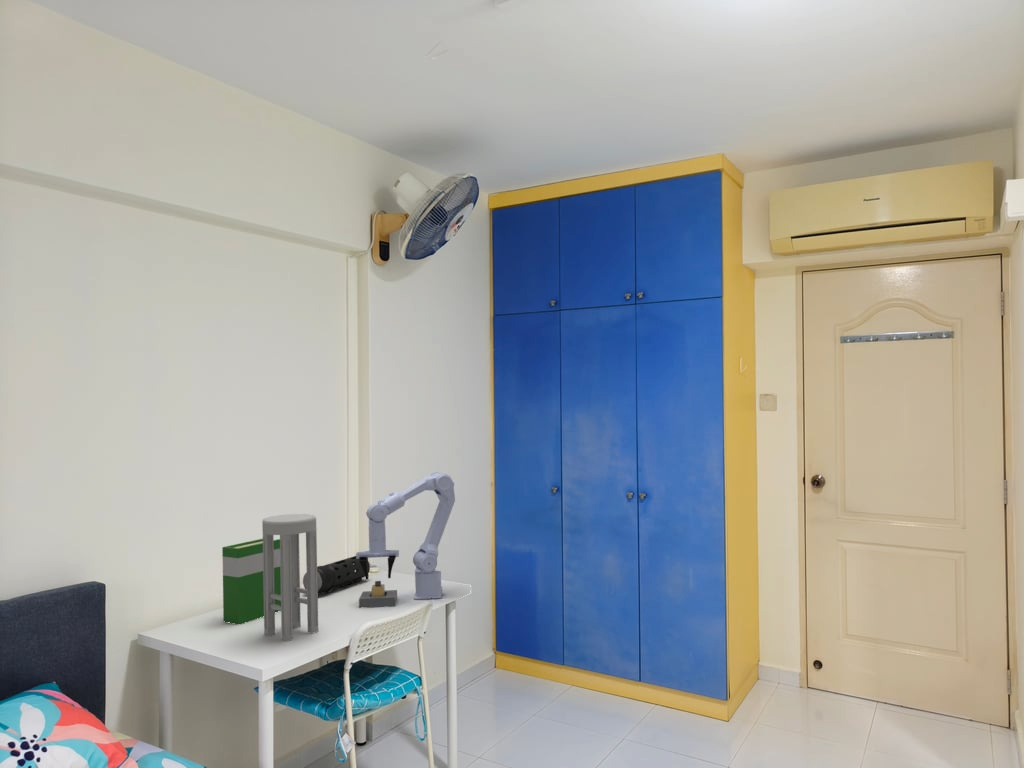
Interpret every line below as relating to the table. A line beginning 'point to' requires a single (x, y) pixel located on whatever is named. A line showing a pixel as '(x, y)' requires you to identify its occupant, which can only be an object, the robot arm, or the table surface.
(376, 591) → the plug
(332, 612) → the table surface
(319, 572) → the muzzle brake
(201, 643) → the table surface
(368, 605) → the socket housing
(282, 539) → the stool
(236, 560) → the hardback book
